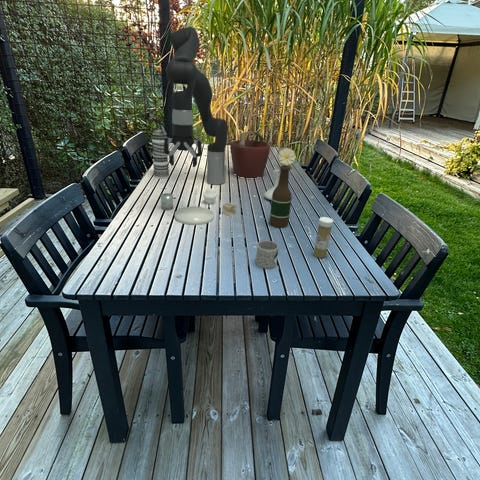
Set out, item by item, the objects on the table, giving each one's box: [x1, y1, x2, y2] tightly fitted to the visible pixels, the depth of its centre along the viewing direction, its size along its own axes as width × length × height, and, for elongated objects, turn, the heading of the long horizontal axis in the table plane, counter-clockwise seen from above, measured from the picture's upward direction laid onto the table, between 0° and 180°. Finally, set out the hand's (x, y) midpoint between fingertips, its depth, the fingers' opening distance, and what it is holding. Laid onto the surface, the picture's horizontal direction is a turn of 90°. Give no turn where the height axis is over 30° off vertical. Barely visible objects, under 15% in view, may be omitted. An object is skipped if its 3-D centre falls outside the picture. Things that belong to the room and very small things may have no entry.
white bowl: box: [174, 206, 215, 226], centre depth 139 cm, size 16×16×2 cm
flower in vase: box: [263, 147, 297, 201], centre depth 159 cm, size 13×11×25 cm
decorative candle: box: [150, 129, 170, 180], centre depth 183 cm, size 9×9×25 cm
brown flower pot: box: [229, 130, 271, 178], centre depth 195 cm, size 24×22×25 cm
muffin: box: [202, 188, 218, 205], centre depth 154 cm, size 6×6×7 cm
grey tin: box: [160, 192, 174, 211], centre depth 145 cm, size 5×5×6 cm
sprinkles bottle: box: [312, 216, 334, 259], centre depth 112 cm, size 5×5×13 cm
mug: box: [255, 239, 280, 270], centre depth 108 cm, size 10×7×7 cm
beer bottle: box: [269, 164, 292, 229], centre depth 132 cm, size 8×8×24 cm
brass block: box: [221, 202, 237, 217], centre depth 144 cm, size 4×4×4 cm
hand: (183, 166), depth 132 cm, fingers open, 8 cm apart
